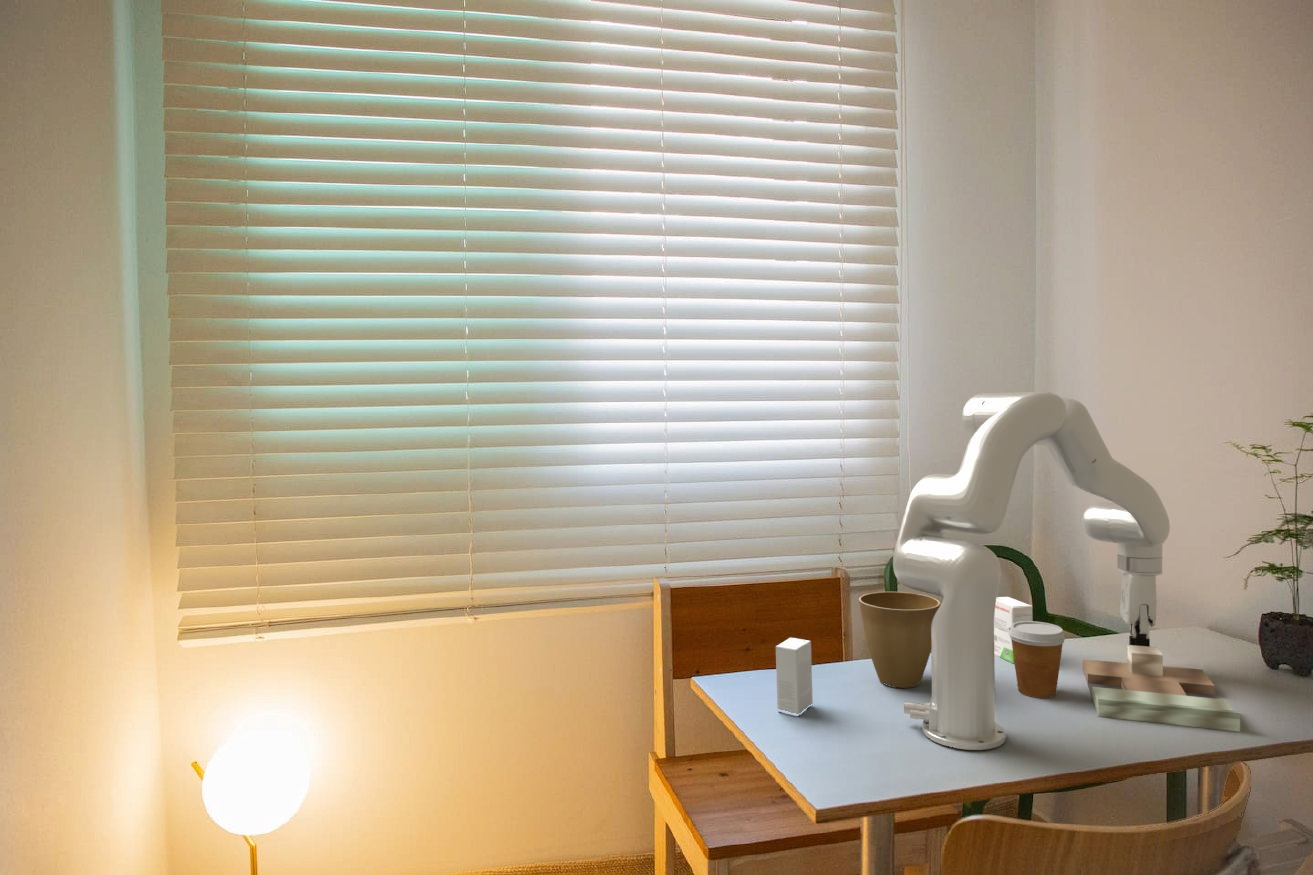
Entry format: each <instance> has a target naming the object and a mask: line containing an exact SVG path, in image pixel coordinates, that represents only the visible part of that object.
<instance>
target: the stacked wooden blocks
mask: <svg viewBox="0 0 1313 875" xmlns="http://www.w3.org/2000/svg"><path fill="white" fill-rule="evenodd" d="M1082 672H1083V673H1084V676H1085V677H1084V678H1085V680H1086V683H1087V686H1088V689H1089V692H1090V695H1091V699H1092V701H1093V704H1094V708H1095V710H1096V713H1097V716H1098V717H1102V718H1108V719H1109V718H1111V719H1119V720H1127V721H1139V722H1147V723H1155V724H1167V725H1174V726H1184V727H1191V728H1203V729H1210V730H1211V729H1212V730H1218V731H1219V730H1220V731H1221V730H1222V731H1230V732H1239V733H1240V732H1241V712H1240V711H1239V710H1234V709H1233V707H1231V705H1230V704H1229V703H1228V701H1226V699H1221V698H1217V696H1216V695H1215V684H1214V683H1213V682H1212V680H1211V679H1210V677H1209V676H1207V673H1206V672H1205V671H1204V670H1203V669H1201V668H1200V669H1199V668H1190V667H1189V668H1188V667H1187V668H1186V667H1178V666H1164V665H1163V677H1161V676H1150V675H1139V674H1131V672H1130V670H1129V668H1128V666H1127V662H1120V661H1119V662H1118V661H1107V660H1097V659H1096V660H1095V659H1084V658H1083V659H1082Z"/></svg>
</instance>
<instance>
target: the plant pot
mask: <svg viewBox="0 0 1313 875" xmlns="http://www.w3.org/2000/svg"><path fill="white" fill-rule="evenodd" d="M858 602H859V609H860V616H861V621H862V627H863V630H864V636H865V640H866V644H867V647H868V651H869V654H870V658H871V661H872V665H873V667H874V669H875V672H876V675H877V677H878V680H879V682H880V683H881V682H882V683H881V684H883V683H885V684H887V685H890V686H889V687H891V686H894V687H893V688H896V687H900V688H899V689H910V688H911V687H912V688H915V686H916V687H917V686H919V685H920V683H921V681H922V678H923V675H924V672H925V670H926V668H927V665H928V663H929V662H928V661H929V659H930V656H931V624H932V620H933V617H934V615H935V613H936V612H937V610H938V609H939V607H940V606H941V602H940V600H938V599H936V598H934V597H933V596H929V595H925V594H922V593H921V594H920V593H914V592H907V591H906V592H905V591H876V592H871V593H870V592H869V593H866V594H863V595H861V596H860V597H858ZM887 685H886V686H887Z"/></svg>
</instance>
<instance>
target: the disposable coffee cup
mask: <svg viewBox="0 0 1313 875" xmlns="http://www.w3.org/2000/svg"><path fill="white" fill-rule="evenodd" d="M1008 633H1009V635H1010V638H1011V640H1012V648H1013V655H1014V662H1015V664H1014V668H1015V676H1016V682H1017V683H1016V684H1017V691H1018V692H1019V693H1020V694H1022V695H1024V696H1027V697H1032V698H1037V699H1049V698H1053V697H1055V696H1056V695H1057V688H1058V681H1059V673H1060V667H1061V666H1060V665H1061V659H1062V652H1063V644H1064V643H1065V640H1067V637H1066V635H1065V634H1064V630H1063V628H1062V627H1060V626H1059V625H1057V624H1053V623H1049V622H1042V621H1022V622H1015V623H1013V624H1012V625H1011V628H1010V630H1009V631H1008Z"/></svg>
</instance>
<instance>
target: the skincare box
mask: <svg viewBox="0 0 1313 875" xmlns="http://www.w3.org/2000/svg"><path fill="white" fill-rule="evenodd" d="M775 663H776V665H775V668H776V670H775V671H776V694H777V697H776V699H777V700H776V701H777V710H778V709H780V710H785V711H788V712H791V713H796V714H799V713H801V712H802V711H803V710H804V709H806V708H807V707H808V706H809V705H811V704H813V703H814V699H813V673H812V672H813V670H812V667H813V666H812V640H806V639H802V638H797V637H788V638H787V639H786V640H784V641H783V642H780V643H779V644H778V645H775Z"/></svg>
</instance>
